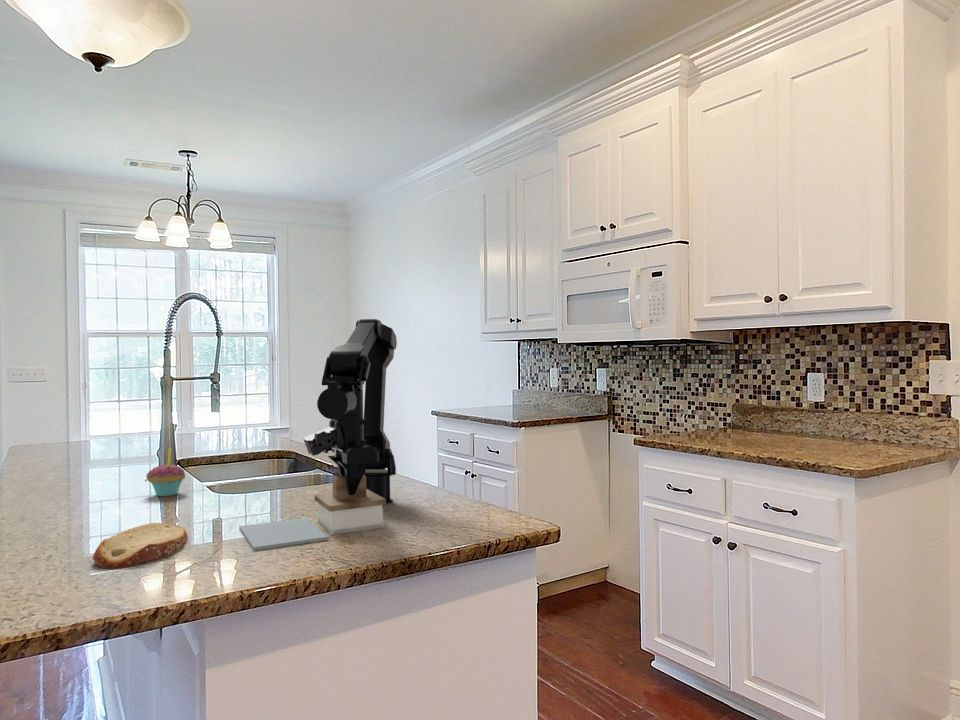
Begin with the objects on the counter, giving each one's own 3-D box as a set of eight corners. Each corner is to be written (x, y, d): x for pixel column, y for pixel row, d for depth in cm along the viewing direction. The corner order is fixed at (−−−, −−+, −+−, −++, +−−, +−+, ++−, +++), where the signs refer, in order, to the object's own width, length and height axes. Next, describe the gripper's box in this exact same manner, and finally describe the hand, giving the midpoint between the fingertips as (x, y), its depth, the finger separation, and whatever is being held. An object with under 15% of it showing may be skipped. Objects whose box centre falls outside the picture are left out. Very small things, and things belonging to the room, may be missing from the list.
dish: (366, 516, 139) (366, 494, 139) (383, 527, 130) (382, 504, 130) (318, 522, 134) (317, 500, 134) (331, 534, 126) (331, 510, 125)
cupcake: (193, 492, 165) (192, 443, 164) (160, 499, 157) (159, 448, 157) (172, 489, 169) (171, 441, 169) (139, 495, 162) (138, 445, 162)
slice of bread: (171, 531, 131) (170, 512, 131) (216, 548, 119) (215, 527, 119) (67, 552, 117) (66, 531, 117) (106, 575, 105) (105, 551, 105)
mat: (306, 520, 136) (306, 517, 136) (328, 539, 122) (328, 536, 122) (239, 529, 130) (239, 526, 130) (253, 550, 116) (253, 547, 116)
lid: (367, 493, 140) (367, 469, 140) (386, 504, 130) (385, 478, 130) (314, 500, 134) (314, 475, 134) (329, 511, 125) (329, 484, 125)
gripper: (295, 412, 136) (297, 489, 137) (319, 420, 120) (321, 508, 120) (349, 409, 142) (350, 483, 142) (379, 417, 125) (380, 500, 125)
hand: (349, 493), depth 132 cm, fingers closed on lid, 2 cm apart
